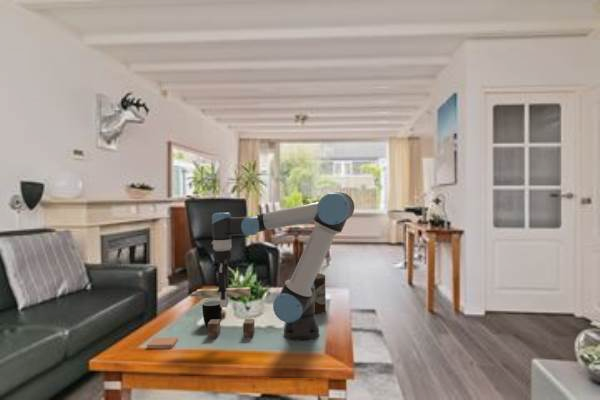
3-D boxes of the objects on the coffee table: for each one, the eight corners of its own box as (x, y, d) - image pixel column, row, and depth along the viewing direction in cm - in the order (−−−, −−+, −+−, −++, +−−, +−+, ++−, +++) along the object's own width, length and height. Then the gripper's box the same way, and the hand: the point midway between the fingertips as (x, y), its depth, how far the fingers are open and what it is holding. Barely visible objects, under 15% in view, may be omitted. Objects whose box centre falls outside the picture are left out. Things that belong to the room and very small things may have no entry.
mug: (224, 326, 185) (223, 304, 185) (204, 328, 182) (203, 306, 182) (219, 318, 196) (219, 298, 196) (200, 321, 193) (200, 300, 193)
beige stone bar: (250, 293, 171) (250, 286, 171) (249, 296, 166) (249, 289, 166) (193, 296, 170) (193, 289, 170) (190, 299, 165) (190, 291, 165)
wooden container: (322, 315, 199) (321, 271, 198) (293, 314, 203) (292, 270, 202) (328, 307, 213) (327, 266, 213) (301, 306, 217) (300, 265, 217)
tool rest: (254, 332, 176) (254, 318, 176) (252, 337, 170) (252, 323, 170) (211, 333, 176) (210, 319, 176) (207, 337, 170) (207, 323, 170)
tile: (178, 337, 167) (153, 337, 167) (172, 344, 159) (146, 344, 159) (178, 342, 167) (154, 342, 167) (172, 349, 159) (147, 349, 159)
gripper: (216, 247, 176) (218, 301, 176) (209, 252, 160) (211, 311, 160) (233, 246, 176) (235, 300, 176) (228, 251, 160) (230, 310, 160)
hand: (224, 305), depth 168 cm, fingers closed on beige stone bar, 3 cm apart
